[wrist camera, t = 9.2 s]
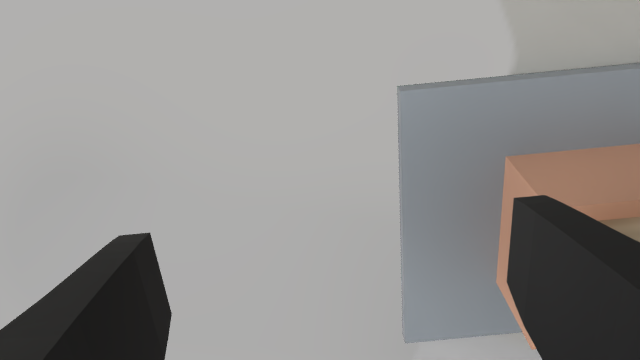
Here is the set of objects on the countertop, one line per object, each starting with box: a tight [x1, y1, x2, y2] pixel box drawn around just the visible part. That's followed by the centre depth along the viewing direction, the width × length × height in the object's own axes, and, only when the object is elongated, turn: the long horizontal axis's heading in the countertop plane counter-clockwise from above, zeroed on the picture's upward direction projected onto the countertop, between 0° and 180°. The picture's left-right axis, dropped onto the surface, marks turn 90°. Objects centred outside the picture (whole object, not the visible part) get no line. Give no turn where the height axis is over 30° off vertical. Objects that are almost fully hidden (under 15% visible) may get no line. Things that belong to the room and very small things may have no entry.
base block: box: [496, 144, 640, 349], centre depth 21 cm, size 6×6×4 cm
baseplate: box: [397, 63, 640, 343], centre depth 23 cm, size 14×12×1 cm
